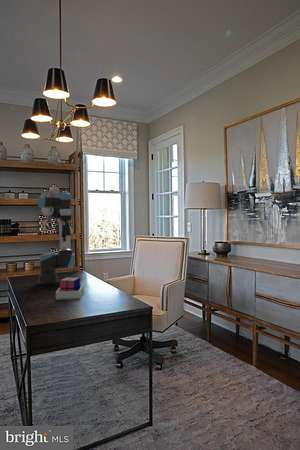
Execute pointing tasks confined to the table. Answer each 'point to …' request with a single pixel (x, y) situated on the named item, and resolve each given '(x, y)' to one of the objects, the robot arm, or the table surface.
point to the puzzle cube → (70, 284)
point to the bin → (69, 294)
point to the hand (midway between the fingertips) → (66, 245)
